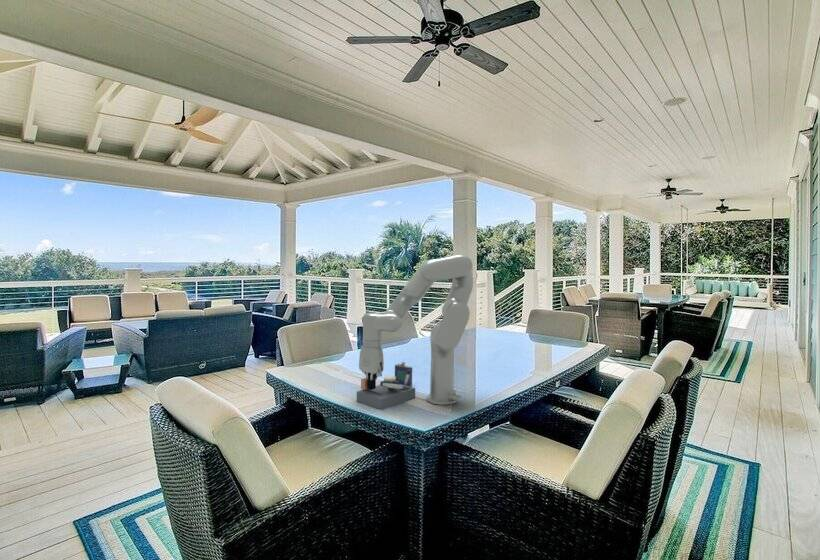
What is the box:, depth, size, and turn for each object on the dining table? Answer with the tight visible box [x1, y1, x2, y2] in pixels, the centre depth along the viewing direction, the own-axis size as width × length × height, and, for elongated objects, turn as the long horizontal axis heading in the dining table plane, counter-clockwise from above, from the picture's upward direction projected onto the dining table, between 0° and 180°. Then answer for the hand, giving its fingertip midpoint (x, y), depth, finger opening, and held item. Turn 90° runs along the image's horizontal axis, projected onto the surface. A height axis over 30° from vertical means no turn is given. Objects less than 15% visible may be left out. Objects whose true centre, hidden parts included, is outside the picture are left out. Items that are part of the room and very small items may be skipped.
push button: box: [383, 375, 396, 383], centre depth 178 cm, size 5×5×3 cm
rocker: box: [382, 383, 403, 389], centre depth 169 cm, size 4×8×1 cm, turn 139°
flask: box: [394, 361, 413, 387], centre depth 193 cm, size 9×3×11 cm, turn 59°
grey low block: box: [356, 380, 416, 411], centre depth 172 cm, size 14×20×6 cm
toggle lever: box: [404, 369, 413, 387], centre depth 174 cm, size 2×2×7 cm
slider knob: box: [360, 377, 367, 390], centre depth 171 cm, size 2×3×4 cm
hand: (371, 388), depth 169 cm, fingers closed
